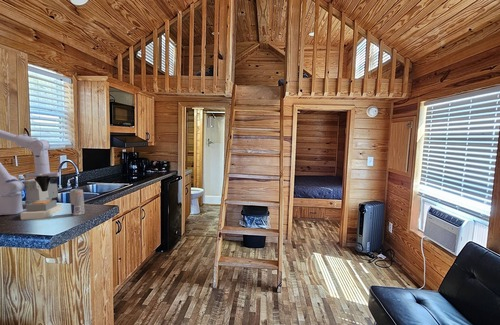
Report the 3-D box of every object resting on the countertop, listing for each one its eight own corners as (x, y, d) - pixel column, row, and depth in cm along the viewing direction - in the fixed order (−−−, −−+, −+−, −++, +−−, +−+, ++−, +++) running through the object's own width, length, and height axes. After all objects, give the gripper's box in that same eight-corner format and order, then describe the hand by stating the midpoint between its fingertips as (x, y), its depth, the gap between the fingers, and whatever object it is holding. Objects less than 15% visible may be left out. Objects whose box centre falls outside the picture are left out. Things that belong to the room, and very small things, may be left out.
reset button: (32, 208, 124) (32, 203, 124) (39, 205, 129) (39, 200, 129) (44, 208, 125) (43, 203, 124) (50, 205, 130) (50, 200, 129)
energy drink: (75, 212, 130) (73, 189, 129) (86, 212, 130) (85, 188, 129) (69, 216, 125) (67, 191, 123) (81, 215, 125) (79, 191, 124)
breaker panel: (20, 219, 120) (19, 206, 119) (41, 210, 134) (39, 199, 133) (44, 218, 121) (43, 206, 120) (62, 209, 135) (61, 198, 134)
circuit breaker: (61, 202, 150) (58, 176, 149) (38, 209, 136) (36, 181, 135) (49, 202, 151) (46, 176, 150) (25, 209, 137) (22, 180, 135)
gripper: (20, 165, 125) (23, 193, 127) (52, 164, 127) (55, 192, 129) (30, 164, 132) (33, 190, 134) (61, 163, 134) (63, 189, 136)
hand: (44, 191), depth 132 cm, fingers closed
